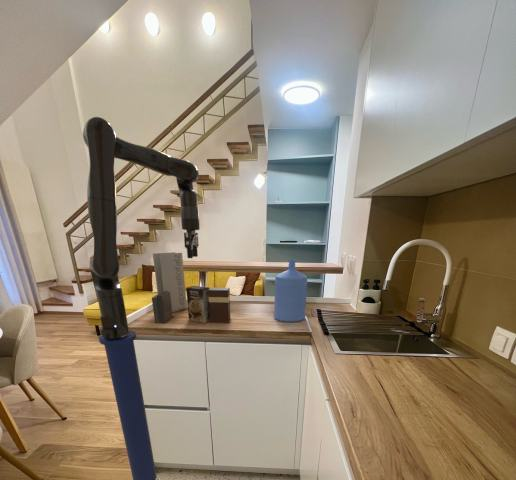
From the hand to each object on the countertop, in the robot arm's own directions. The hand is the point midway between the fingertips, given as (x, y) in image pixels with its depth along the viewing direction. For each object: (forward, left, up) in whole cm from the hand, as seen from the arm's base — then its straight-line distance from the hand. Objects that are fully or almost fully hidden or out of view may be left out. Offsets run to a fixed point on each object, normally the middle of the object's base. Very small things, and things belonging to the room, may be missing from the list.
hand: (192, 257), depth 126 cm
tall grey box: (+18, +18, -30) cm, 39 cm away
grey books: (0, +17, -30) cm, 34 cm away
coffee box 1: (0, -1, -30) cm, 30 cm away
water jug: (+7, -45, -30) cm, 55 cm away
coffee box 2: (0, -11, -30) cm, 32 cm away
